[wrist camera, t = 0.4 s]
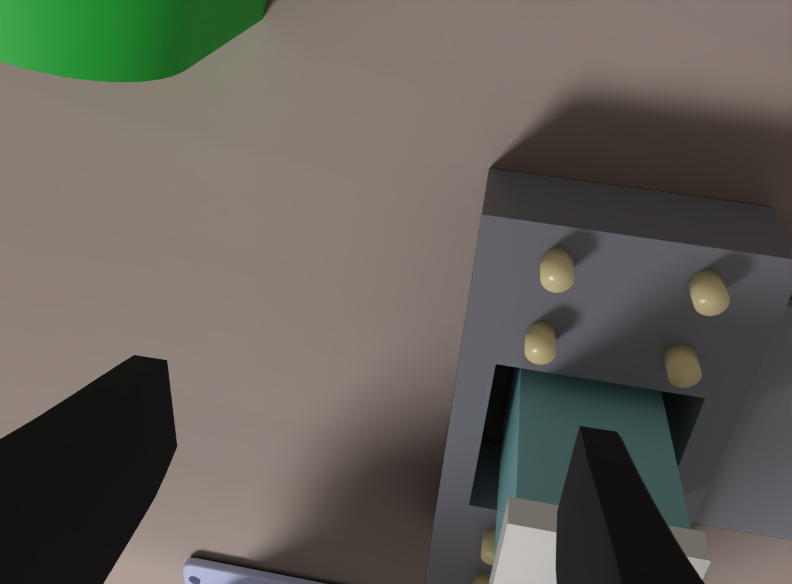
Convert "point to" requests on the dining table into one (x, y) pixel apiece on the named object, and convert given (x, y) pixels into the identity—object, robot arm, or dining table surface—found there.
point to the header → (607, 326)
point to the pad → (758, 452)
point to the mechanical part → (119, 35)
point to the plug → (550, 457)
